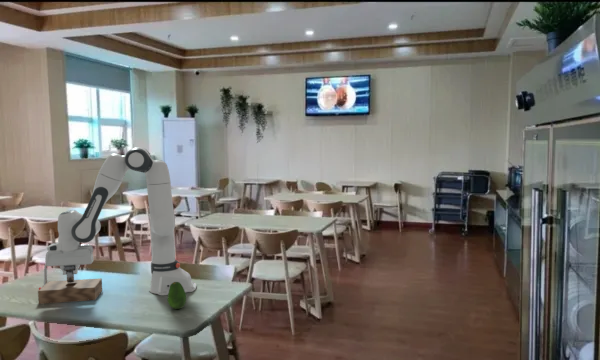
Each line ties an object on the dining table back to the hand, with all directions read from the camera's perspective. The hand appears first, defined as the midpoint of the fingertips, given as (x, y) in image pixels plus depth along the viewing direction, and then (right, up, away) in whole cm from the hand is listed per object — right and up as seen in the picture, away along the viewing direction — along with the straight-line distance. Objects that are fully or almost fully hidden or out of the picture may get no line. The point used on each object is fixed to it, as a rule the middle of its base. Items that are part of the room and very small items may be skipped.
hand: (70, 274), depth 215 cm
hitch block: (0, -11, +1) cm, 11 cm away
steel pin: (0, -4, 0) cm, 4 cm away
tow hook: (-17, -10, +14) cm, 24 cm away
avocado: (+54, -12, -15) cm, 58 cm away
